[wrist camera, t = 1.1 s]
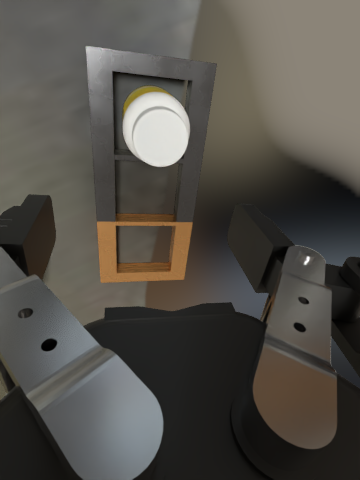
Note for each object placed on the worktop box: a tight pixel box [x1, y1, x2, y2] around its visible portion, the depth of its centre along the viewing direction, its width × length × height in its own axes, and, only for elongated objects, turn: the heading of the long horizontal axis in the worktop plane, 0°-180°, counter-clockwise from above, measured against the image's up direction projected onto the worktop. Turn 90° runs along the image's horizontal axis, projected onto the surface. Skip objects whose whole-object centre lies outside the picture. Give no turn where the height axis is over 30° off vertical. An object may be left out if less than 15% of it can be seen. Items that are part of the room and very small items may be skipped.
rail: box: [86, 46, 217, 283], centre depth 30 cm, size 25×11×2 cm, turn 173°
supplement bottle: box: [122, 85, 190, 167], centre depth 23 cm, size 5×5×10 cm
